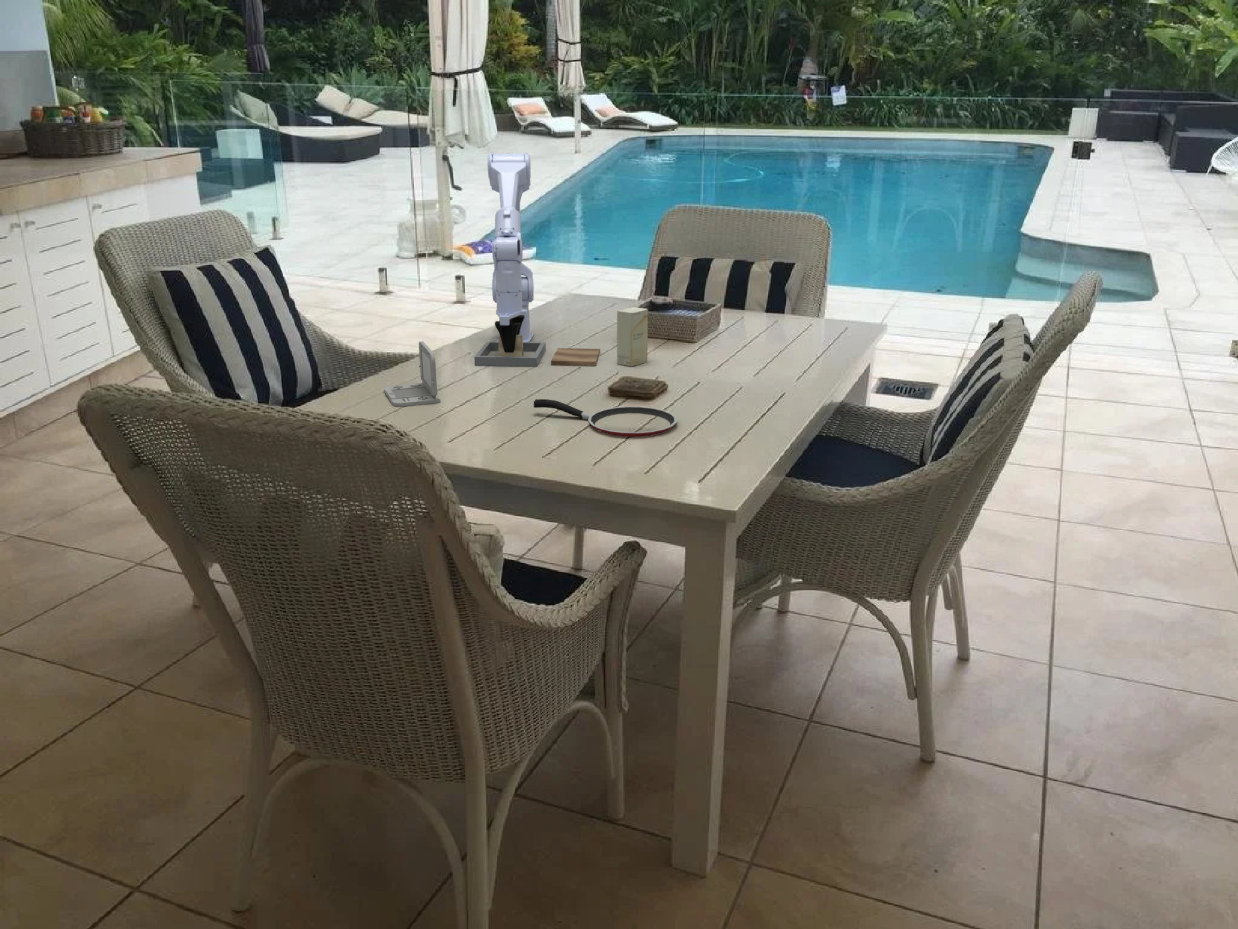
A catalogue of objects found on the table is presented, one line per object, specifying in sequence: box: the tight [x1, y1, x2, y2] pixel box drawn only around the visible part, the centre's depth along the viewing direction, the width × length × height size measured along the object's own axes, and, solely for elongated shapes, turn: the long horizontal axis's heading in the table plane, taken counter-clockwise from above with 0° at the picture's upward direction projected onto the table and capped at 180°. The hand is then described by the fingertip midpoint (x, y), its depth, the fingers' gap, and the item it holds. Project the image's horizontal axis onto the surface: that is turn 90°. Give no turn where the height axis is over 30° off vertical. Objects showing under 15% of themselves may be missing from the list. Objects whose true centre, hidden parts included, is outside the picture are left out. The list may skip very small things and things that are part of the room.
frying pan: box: [533, 398, 678, 438], centre depth 197 cm, size 28×16×3 cm, turn 72°
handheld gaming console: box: [383, 341, 441, 408], centre depth 211 cm, size 13×9×10 cm
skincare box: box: [616, 306, 649, 367], centre depth 236 cm, size 6×4×12 cm
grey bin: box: [473, 340, 547, 368], centre depth 242 cm, size 15×14×2 cm
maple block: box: [497, 335, 524, 357], centre depth 242 cm, size 4×5×5 cm
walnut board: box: [550, 347, 601, 367], centre depth 241 cm, size 12×10×1 cm
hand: (510, 349), depth 242 cm, fingers closed on maple block, 4 cm apart
